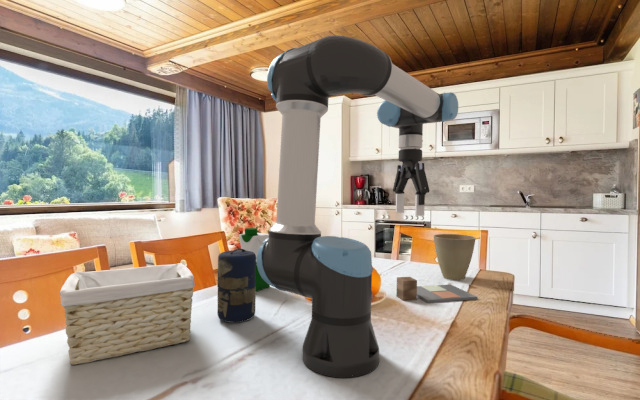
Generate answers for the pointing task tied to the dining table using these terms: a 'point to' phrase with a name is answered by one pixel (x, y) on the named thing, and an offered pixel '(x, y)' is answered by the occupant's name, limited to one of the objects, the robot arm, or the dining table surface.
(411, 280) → the brown wooden block
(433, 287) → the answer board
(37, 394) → the dining table surface
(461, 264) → the plant pot
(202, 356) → the dining table surface
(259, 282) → the milk carton
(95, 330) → the storage basket
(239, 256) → the canister
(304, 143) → the robot arm
